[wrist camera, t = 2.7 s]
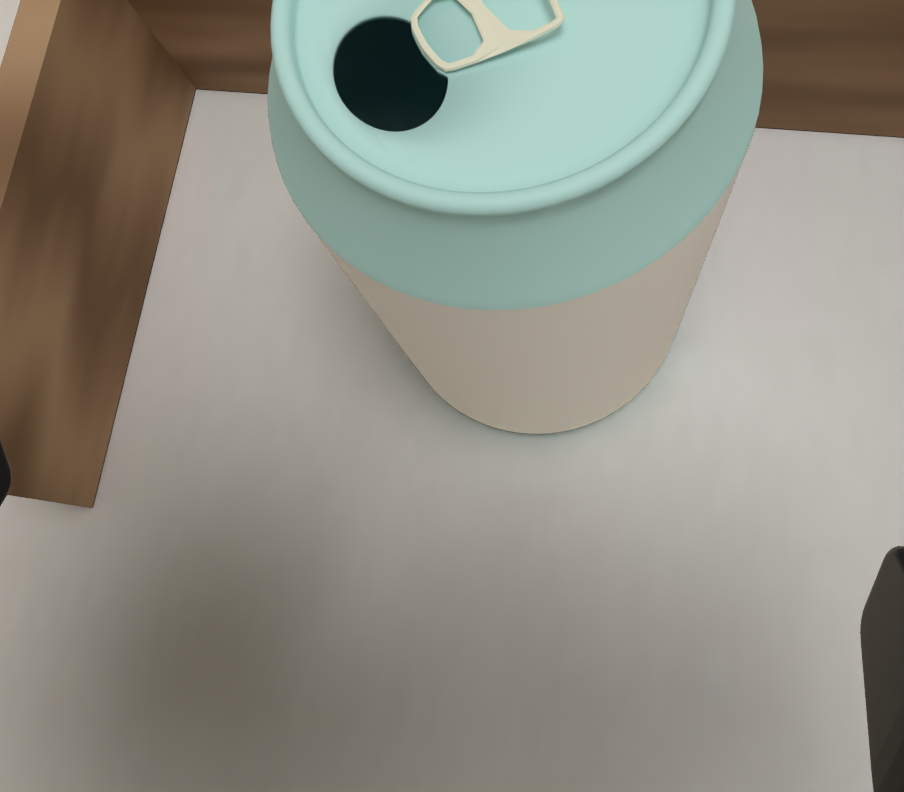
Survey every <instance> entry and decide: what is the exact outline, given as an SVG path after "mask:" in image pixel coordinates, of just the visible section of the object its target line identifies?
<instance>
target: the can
mask: <svg viewBox="0 0 904 792" xmlns="http://www.w3.org/2000/svg"><path fill="white" fill-rule="evenodd" d="M270 30H271V48H272V55H273V56H272V62H271V67H270V73H269V85H268V116H269V124H270V131H271V138H272V145H273V149H274V152H275V156H276V160H277V164H278V167H279V170H280V172H281V175H282V178H283V180H284V183H285V185H286V187H287V189H288V191H289V193H290V195H291V197H292V199H293V201H294V203H295V204H296V206H297V207H298V209H299V211H300V212H301V214H302V215H303V217H304V218H305V220H306V221H307V223H308V224H309V225H310V227H311V228H312V229H313V231H314V232H315V233H316V235H317V236H318V237H319V239H320V240H321V241H322V243H323V244H324V245H325V247H326V248H327V249H328V251H329V252H330V253H331V255H332V256H333V257H334V259H335V260H336V261H337V263H338V264H339V265H340V267H341V268H342V269H343V271H344V272H345V273H346V275H347V276H348V277H349V278H350V280H351V281H352V282H353V284H354V285H355V286H356V288H357V289H358V290H359V292H360V293H361V294H362V296H363V297H364V298H365V300H366V301H367V302H368V304H369V305H370V306H371V308H372V309H373V310H374V312H375V313H376V314H377V316H378V317H379V318H380V320H381V321H382V322H383V324H384V325H385V326H386V328H387V329H388V330H389V332H390V333H391V334H392V336H393V337H394V338H395V340H396V341H397V342H398V344H399V345H400V346H401V348H402V349H403V350H404V352H405V353H406V354H407V356H408V357H409V358H410V360H411V361H412V362H413V364H414V365H415V366H416V368H417V369H418V370H419V372H420V373H421V374H422V376H423V377H424V378H425V380H426V381H427V382H428V383H429V385H430V386H431V387H432V388H433V389H434V390H435V391H436V392H437V393H438V394H439V395H440V396H441V397H442V398H443V399H444V400H445V401H446V402H448V403H449V404H450V405H451V406H452V407H454V408H455V409H457V410H458V411H460V412H461V413H463V414H465V415H467V416H468V417H470V418H472V419H474V420H476V421H478V422H481V423H483V424H486V425H488V426H492V427H495V428H498V429H502V430H507V431H512V432H518V433H529V434H545V433H555V432H562V431H567V430H572V429H576V428H579V427H582V426H585V425H588V424H591V423H593V422H595V421H598V420H600V419H602V418H604V417H606V416H608V415H610V414H612V413H613V412H615V411H616V410H618V409H619V408H621V407H622V406H624V405H625V404H627V403H628V402H629V401H630V400H631V399H633V398H634V397H635V396H636V395H637V394H638V393H639V392H640V391H641V390H642V389H643V388H644V387H645V386H646V385H647V384H648V383H649V382H650V380H651V379H652V378H653V377H654V375H655V374H656V373H657V371H658V370H659V368H660V366H661V365H662V363H663V362H664V360H665V358H666V356H667V354H668V352H669V350H670V347H671V345H672V342H673V340H674V337H675V335H676V332H677V330H678V327H679V324H680V322H681V319H682V317H683V314H684V312H685V309H686V306H687V304H688V301H689V299H690V296H691V294H692V291H693V288H694V286H695V283H696V281H697V278H698V275H699V273H700V270H701V268H702V265H703V263H704V260H705V257H706V255H707V252H708V250H709V247H710V245H711V242H712V239H713V237H714V234H715V232H716V229H717V227H718V224H719V221H720V219H721V216H722V214H723V211H724V208H725V206H726V203H727V201H728V198H729V196H730V193H731V190H732V188H733V185H734V183H735V180H736V178H737V175H738V172H739V170H740V167H741V165H742V162H743V160H744V157H745V154H746V152H747V149H748V147H749V144H750V141H751V139H752V136H753V132H754V129H755V125H756V122H757V118H758V115H759V108H760V102H761V96H762V86H763V57H762V44H761V38H760V33H759V27H758V22H757V17H756V13H755V10H754V7H753V4H752V0H273V2H272V10H271V23H270Z"/></svg>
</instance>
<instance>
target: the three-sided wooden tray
mask: <svg viewBox="0 0 904 792" xmlns="http://www.w3.org/2000/svg"><path fill="white" fill-rule="evenodd" d="M272 2H273V0H20V4H19V7H18V10H17V14H16V17H15V20H14V24H13V27H12V30H11V34H10V37H9V41H8V44H7V47H6V51H5V54H4V57H3V61H2V64H1V67H0V439H1V442H2V445H3V448H4V450H5V453H6V456H7V459H8V462H9V464H10V467H11V471H12V481H11V486H10V489H9V492H8V494H7V495H12V496H19V497H25V498H32V499H38V500H44V501H51V502H57V503H64V504H70V505H76V506H83V507H89V508H92V507H93V503H94V499H95V495H96V491H97V487H98V483H99V479H100V475H101V471H102V467H103V463H104V459H105V454H106V450H107V446H108V442H109V438H110V434H111V430H112V426H113V422H114V418H115V414H116V410H117V406H118V402H119V398H120V394H121V390H122V385H123V381H124V377H125V373H126V369H127V365H128V361H129V357H130V353H131V349H132V345H133V341H134V337H135V333H136V329H137V325H138V321H139V316H140V312H141V308H142V304H143V300H144V296H145V292H146V288H147V284H148V280H149V276H150V272H151V268H152V264H153V260H154V256H155V252H156V247H157V243H158V239H159V235H160V231H161V227H162V223H163V219H164V215H165V211H166V207H167V203H168V199H169V195H170V191H171V187H172V183H173V179H174V174H175V170H176V166H177V162H178V158H179V154H180V150H181V146H182V142H183V138H184V134H185V130H186V126H187V122H188V118H189V114H190V110H191V105H192V101H193V97H194V93H195V89H207V90H222V91H237V92H251V93H266V94H268V85H269V73H270V67H271V62H272V56H273V55H272V48H271V30H270V23H271V10H272ZM752 4H753V7H754V10H755V13H756V17H757V22H758V27H759V33H760V38H761V44H762V57H763V86H762V96H761V102H760V108H759V115H758V118H757V122H756V125H755V127H764V128H778V129H793V130H807V131H822V132H837V133H851V134H866V135H881V136H895V137H904V0H752Z"/></svg>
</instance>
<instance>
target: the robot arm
mask: <svg viewBox="0 0 904 792" xmlns="http://www.w3.org/2000/svg"><path fill="white" fill-rule="evenodd" d="M11 481H12V471H11V467H10V464H9V462H8V459H7V456H6V453H5V450H4V448H3V445H2V442H1V439H0V506H1V504H2V502H3V501H4V499H5V497H6V496H7V494H8V492H9V489H10V486H11ZM860 634H861V649H862V661H863V673H864V685H865V698H866V710H867V722H868V735H869V747H870V759H871V771H872V781H873V790H874V792H904V546H897V547H894V548H892V549H890V551H889V552H888V553H887V554H886V556H885V558H884V560H883V562H882V565H881V567H880V570H879V572H878V575H877V577H876V580H875V582H874V585H873V587H872V590H871V592H870V595H869V597H868V600H867V602H866V605H865V607H864V610H863V614H862V619H861V631H860Z"/></svg>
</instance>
